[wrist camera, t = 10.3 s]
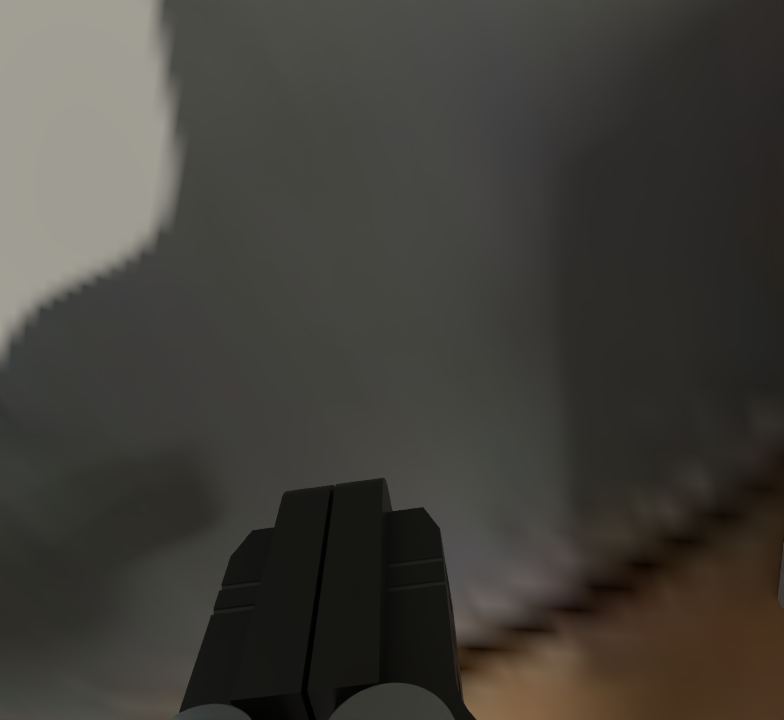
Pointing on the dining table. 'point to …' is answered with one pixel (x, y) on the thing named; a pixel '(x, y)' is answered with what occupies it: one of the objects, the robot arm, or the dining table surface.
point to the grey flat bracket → (781, 582)
